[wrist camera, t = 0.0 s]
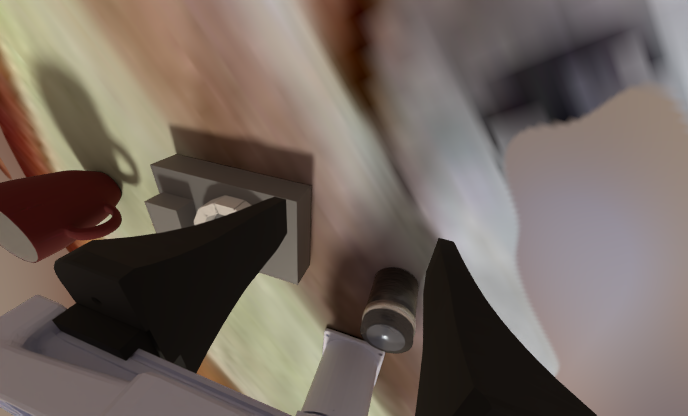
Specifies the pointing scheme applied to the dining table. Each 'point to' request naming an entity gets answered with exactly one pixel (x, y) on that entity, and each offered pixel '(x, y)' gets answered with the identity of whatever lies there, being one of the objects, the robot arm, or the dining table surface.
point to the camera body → (231, 205)
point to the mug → (56, 211)
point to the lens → (391, 311)
